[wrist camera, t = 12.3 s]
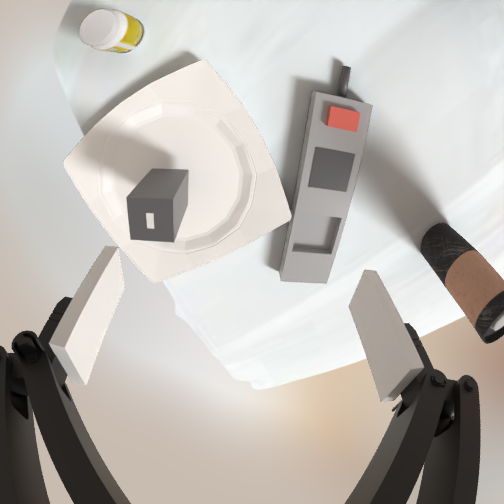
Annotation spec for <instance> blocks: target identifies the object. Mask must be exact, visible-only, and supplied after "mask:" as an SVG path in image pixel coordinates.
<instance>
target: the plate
mask: <svg viewBox="0 0 504 504" xmlns="http://www.w3.org/2000/svg"><path fill="white" fill-rule="evenodd" d="M63 166H64V167H65V169H66V171H67V173H68V174H69V176H70V178H71V179H72V181H73V183H74V184H75V186H76V188H77V189H78V191H79V192H80V194H81V196H82V197H83V199H84V200H85V202H86V204H87V205H88V207H89V208H90V209H91V211H92V212H93V214H94V215H95V216H96V217H97V219H98V221H99V222H100V223H101V225H102V226H103V227H104V229H105V230H106V231H107V233H108V234H109V235H110V236H111V237H112V239H113V240H114V241H115V242H116V244H117V245H118V246H119V247H120V248H121V250H122V251H123V252H124V253H125V254H126V255H127V256H128V257H129V258H130V260H131V261H132V262H133V263H134V264H135V265H136V266H137V267H138V268H139V269H140V270H141V271H142V272H143V274H144V275H145V276H146V277H147V278H148V279H149V280H150V281H151V282H153V283H158V282H160V281H163V280H166V279H168V278H171V277H174V276H176V275H179V274H182V273H184V272H187V271H189V270H192V269H195V268H197V267H199V266H202V265H204V264H206V263H209V262H211V261H213V260H216V259H218V258H220V257H223V256H225V255H227V254H229V253H231V252H233V251H235V250H237V249H239V248H241V247H243V246H245V245H247V244H249V243H250V242H252V241H254V240H256V239H258V238H259V237H261V236H263V235H265V234H267V233H268V232H270V231H272V230H274V229H276V228H277V227H279V226H281V225H283V224H285V223H286V222H288V221H290V219H291V217H292V215H291V212H290V209H289V205H288V202H287V199H286V196H285V193H284V190H283V187H282V184H281V181H280V178H279V175H278V172H277V169H276V166H275V164H274V162H273V160H272V157H271V155H270V153H269V151H268V149H267V147H266V145H265V143H264V140H263V138H262V136H261V134H260V133H259V131H258V129H257V128H256V126H255V124H254V123H253V121H252V119H251V118H250V116H249V114H248V113H247V111H246V109H245V108H244V106H243V105H242V103H241V102H240V101H239V100H238V98H237V97H236V96H235V95H234V93H233V92H232V91H231V89H230V88H229V87H228V86H227V84H226V83H225V82H224V81H223V80H222V78H221V77H220V76H219V75H218V73H217V72H216V71H215V70H214V69H213V67H212V66H211V65H210V64H209V63H208V62H207V61H203V60H200V61H198V62H195V63H193V64H191V65H188V66H186V67H184V68H182V69H179V70H177V71H175V72H173V73H171V74H169V75H166V76H164V77H162V78H160V79H158V80H156V81H154V82H152V83H150V84H149V85H147V86H145V87H144V88H142V89H141V90H139V91H138V92H136V93H134V94H133V95H131V96H130V97H128V98H127V99H126V100H124V101H123V102H121V103H120V104H119V105H117V106H116V107H115V108H114V109H113V110H111V111H110V112H109V113H108V114H107V115H106V116H104V117H103V118H102V119H101V120H100V121H99V122H98V123H97V124H95V125H94V126H93V127H92V129H91V130H90V131H89V132H88V133H87V134H86V135H85V136H84V137H83V138H82V140H81V141H80V142H79V143H78V144H77V145H76V146H75V148H74V149H73V150H72V151H71V152H70V154H69V155H68V156H67V158H65V160H64V161H63ZM152 168H156V169H186V170H189V180H188V206H187V209H186V211H185V214H184V217H183V219H182V222H181V225H180V227H179V230H178V233H177V236H176V239H175V241H174V243H173V242H158V241H143V240H131V239H130V231H129V222H128V211H127V200H126V197H127V196H128V195H129V194H130V193H131V191H132V190H133V189H134V188H135V187H136V186H137V185H138V183H139V182H140V181H141V180H142V179H143V178H144V177H145V176H146V174H147V173H148V172H149V171H150V170H151V169H152Z"/></svg>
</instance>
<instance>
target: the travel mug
mask: <svg viewBox="0 0 504 504" xmlns="http://www.w3.org/2000/svg"><path fill="white" fill-rule="evenodd" d="M421 252H422V255H423V256H424V258H425V259H426V260H427V262H428V263H429V265H430V266H431V267H432V269H433V270H434V271H435V273H436V274H437V276H438V277H439V278H440V280H441V281H442V283H443V284H444V286H445V287H446V288H447V290H448V291H449V292H450V294H451V295H452V297H453V298H454V299H455V301H456V302H457V303H458V305H459V306H460V308H461V309H462V310H463V312H464V313H465V315H466V316H467V318H468V319H469V320H470V322H471V324H472V325H473V327H474V328H475V329H476V331H477V332H478V334H479V336H480V337H481V339H482V340H483V342H485V343H486V344H488V343H492V342H494V341H496V340H498V339H499V338H500V337H502V336H503V335H504V280H503V279H502V278H501V276H500V275H499V274H498V273H497V272H496V271H495V269H494V268H493V267H492V266H491V265H490V264H489V263H488V262H487V261H486V260H485V258H484V257H483V256H482V255H481V254H480V253H479V252H478V251H477V250H476V249H475V248H474V247H473V246H472V245H470V244H469V243H468V242H467V241H466V240H465V239H464V238H463V237H462V236H460V235H459V234H458V233H457V232H456V231H455V230H454V229H452V228H451V227H450V226H449V225H447V224H443V223H442V224H437V225H435V226H433V227H432V228H431V229H430V230H429V231H428V232H427V233H426V234H425V236H424V238H423V240H422V243H421Z"/></svg>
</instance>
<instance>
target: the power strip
mask: <svg viewBox="0 0 504 504" xmlns="http://www.w3.org/2000/svg"><path fill="white" fill-rule="evenodd" d="M350 69H351V68H350V67H347V66H342V72H341V78H340V85H339V91H338V96H334V95H330V94H325V93H320V92H314V91H312V93H311V100H310V106H309V112H308V118H307V125H306V131H305V137H304V143H303V148H302V154H301V160H300V166H299V171H298V177H297V182H296V188H295V193H294V199H293V204H292V209H291V215H292V217H291V219H290V221H289V225H288V230H287V235H286V240H285V245H284V250H283V255H282V260H281V265H280V270H279V274H280V280H281V281H286V282H305V283H325V284H326V283H327V280H328V277H329V274H330V271H331V268H332V265H333V262H334V258H335V255H336V252H337V249H338V245H339V242H340V239H341V235H342V232H343V228H344V225H345V221H346V218H347V214H348V210H349V207H350V203H351V199H352V196H353V192H354V188H355V184H356V180H357V176H358V172H359V167H360V163H361V159H362V155H363V150H364V146H365V141H366V136H367V132H368V127H369V122H370V117H371V111H372V106H373V105H370V104H366V103H363V102H359V101H355V100H351V99H347V98H346V94H347V88H348V82H349V76H350Z"/></svg>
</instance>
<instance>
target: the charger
mask: <svg viewBox="0 0 504 504" xmlns="http://www.w3.org/2000/svg"><path fill="white" fill-rule="evenodd" d="M188 180H189V170H186V169H156V168H152V169H151V170H150V171H149V172H148V173H147V174H146V176H145V177H144V178H143V179H142V180H141V181H140V182H139V183H138V185H137V186H136V187H135V188H134V189H133V190H132V191H131V193H130V194H129V195H128V196H127V197H126V200H127V211H128V222H129V231H130V239H131V240H143V241H158V242H173V243H174V241H175V239H176V236H177V233H178V230H179V227H180V225H181V222H182V219H183V217H184V214H185V211H186V209H187V206H188Z"/></svg>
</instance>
